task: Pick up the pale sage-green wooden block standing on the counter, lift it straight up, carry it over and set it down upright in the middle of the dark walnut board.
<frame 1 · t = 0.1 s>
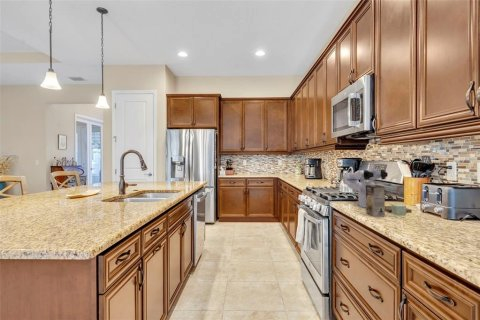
hand: (379, 174, 148), 22 cm above the worktop, tool horizontal, fingers open, 7 cm apart
walnut board: (394, 210, 153), on the worktop
sage block: (398, 214, 143), on the worktop
coffee box: (375, 215, 143), on the worktop
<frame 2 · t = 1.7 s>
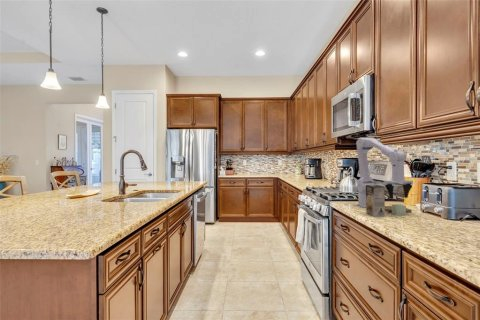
hand: (398, 197, 143), 9 cm above the worktop, tool pointing down, fingers open, 7 cm apart
nothing on the worktop moved.
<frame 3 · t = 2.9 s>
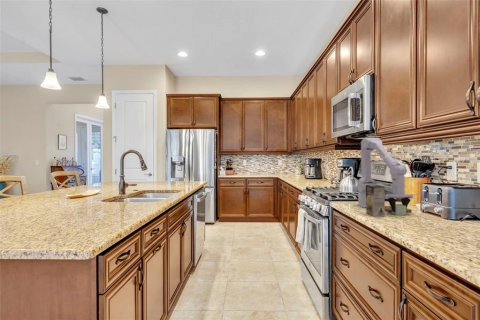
hand: (398, 211, 143), 1 cm above the worktop, tool pointing down, fingers closed on sage block, 5 cm apart
sage block: (398, 214, 143), on the worktop, touching gripper
everything else where it was.
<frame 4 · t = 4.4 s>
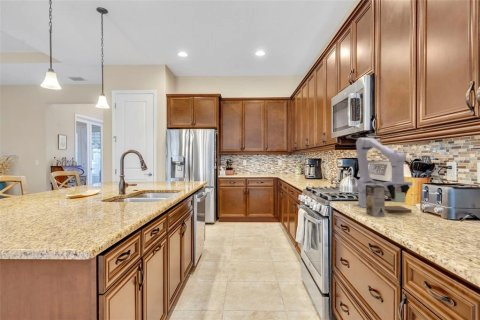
hand: (398, 198, 144), 8 cm above the worktop, tool pointing down, fingers closed on sage block, 5 cm apart
sage block: (398, 201, 144), point 7 cm above the worktop, touching gripper
everything else where it was.
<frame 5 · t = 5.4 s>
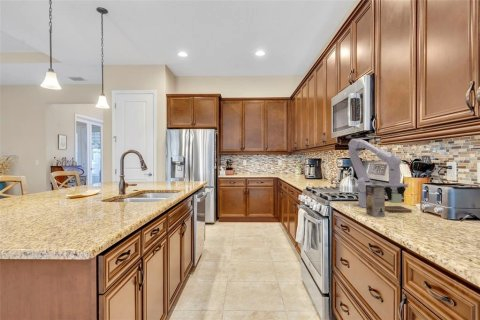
hand: (394, 199, 153), 6 cm above the worktop, tool pointing down, fingers closed on sage block, 5 cm apart
sage block: (394, 202, 153), point 5 cm above the worktop, touching gripper
everything else where it was.
when the fingers open (4 cm above the worktop, at t = 6.2 s): sage block drops 1 cm, resting on walnut board.
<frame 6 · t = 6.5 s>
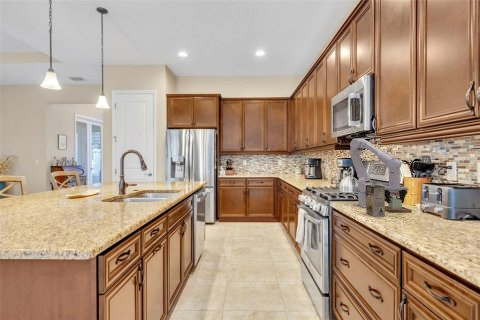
hand: (394, 202, 153), 4 cm above the worktop, tool pointing down, fingers open, 7 cm apart
sage block: (394, 207, 153), point 1 cm above the worktop, touching walnut board
everything else where it was.
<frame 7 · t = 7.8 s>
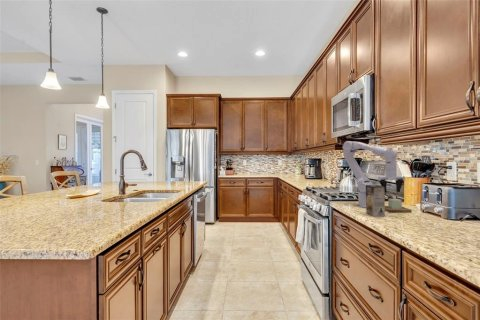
hand: (391, 192, 155), 10 cm above the worktop, tool pointing down, fingers open, 7 cm apart
nothing on the worktop moved.
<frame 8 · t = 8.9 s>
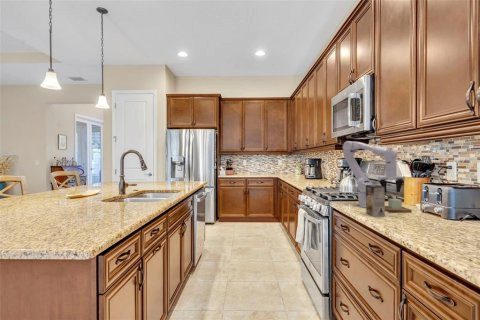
hand: (391, 192, 155), 10 cm above the worktop, tool pointing down, fingers open, 7 cm apart
nothing on the worktop moved.
at the end: sage block inside the target area on the walnut board (0.1 cm from its centre), point 1.5 cm above the walnut board's base; sage block tilted 0°; the gripper is holding nothing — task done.
